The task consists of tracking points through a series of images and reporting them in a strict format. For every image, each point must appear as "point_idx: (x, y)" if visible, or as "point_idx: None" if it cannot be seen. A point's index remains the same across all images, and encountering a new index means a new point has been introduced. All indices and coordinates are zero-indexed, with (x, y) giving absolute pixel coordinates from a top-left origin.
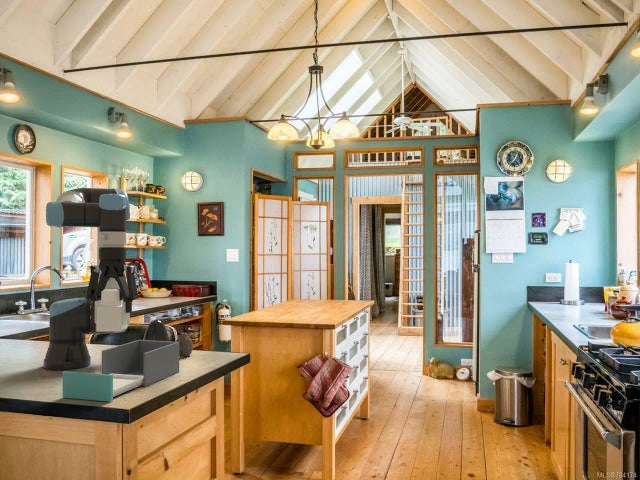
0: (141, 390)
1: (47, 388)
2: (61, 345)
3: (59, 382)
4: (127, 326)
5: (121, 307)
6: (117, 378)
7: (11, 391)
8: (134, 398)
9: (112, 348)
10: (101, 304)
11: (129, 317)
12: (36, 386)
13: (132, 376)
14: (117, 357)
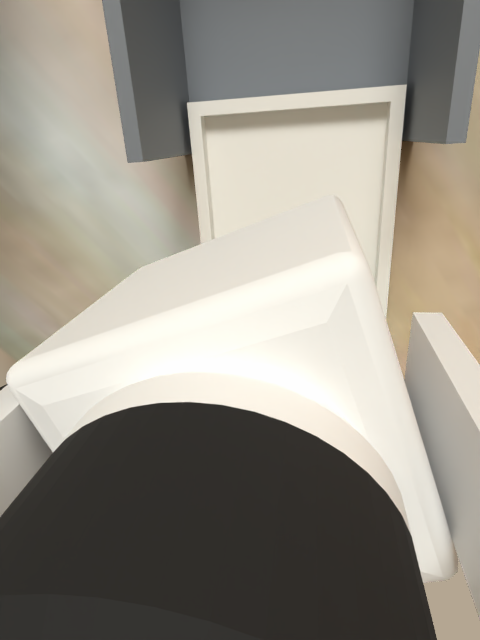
0: (423, 200)
1: (65, 279)
2: None
3: (26, 196)
4: (343, 205)
5: (456, 556)
6: (243, 124)
7: (4, 336)
8: (452, 306)
9: (128, 61)
10: (18, 439)
11: (461, 346)
12: (10, 268)
13: (319, 106)
14: (147, 12)
